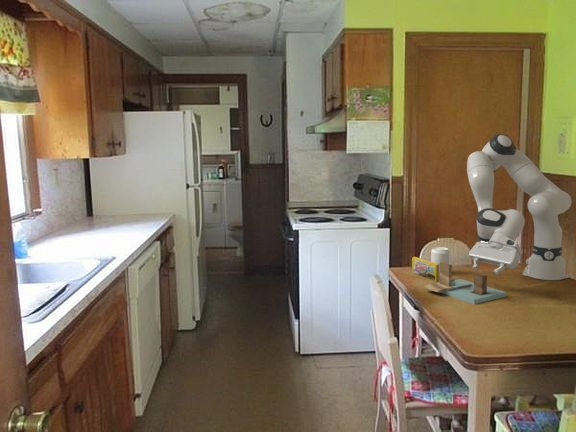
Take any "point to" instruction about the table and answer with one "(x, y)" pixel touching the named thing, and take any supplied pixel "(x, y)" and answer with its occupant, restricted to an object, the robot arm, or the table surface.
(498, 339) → the table surface
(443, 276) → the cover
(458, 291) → the puzzle board
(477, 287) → the walnut block
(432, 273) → the candy box
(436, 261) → the beverage can
